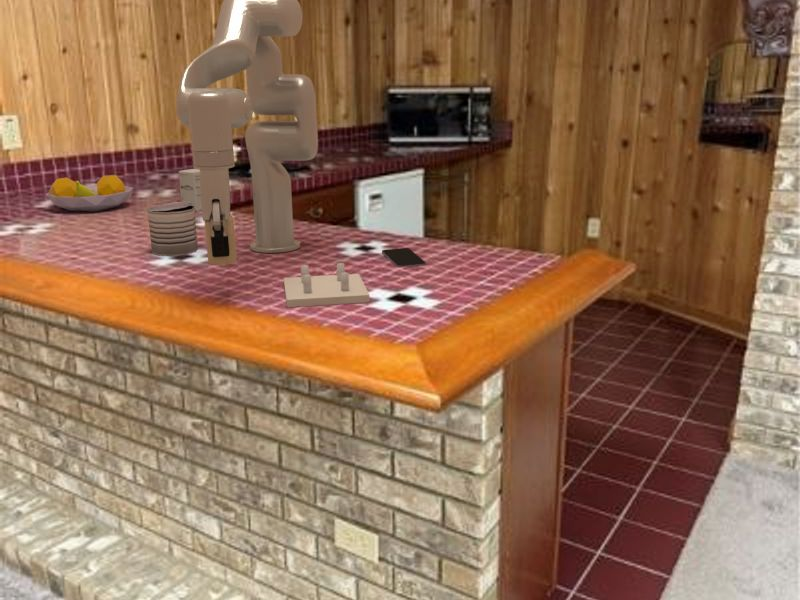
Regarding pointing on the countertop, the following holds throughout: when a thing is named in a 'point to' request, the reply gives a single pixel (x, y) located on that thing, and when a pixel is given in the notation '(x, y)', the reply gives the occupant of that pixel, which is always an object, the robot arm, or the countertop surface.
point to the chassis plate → (325, 288)
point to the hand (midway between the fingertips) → (221, 251)
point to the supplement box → (190, 187)
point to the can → (173, 229)
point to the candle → (231, 239)
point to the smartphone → (403, 257)
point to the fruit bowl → (89, 194)
